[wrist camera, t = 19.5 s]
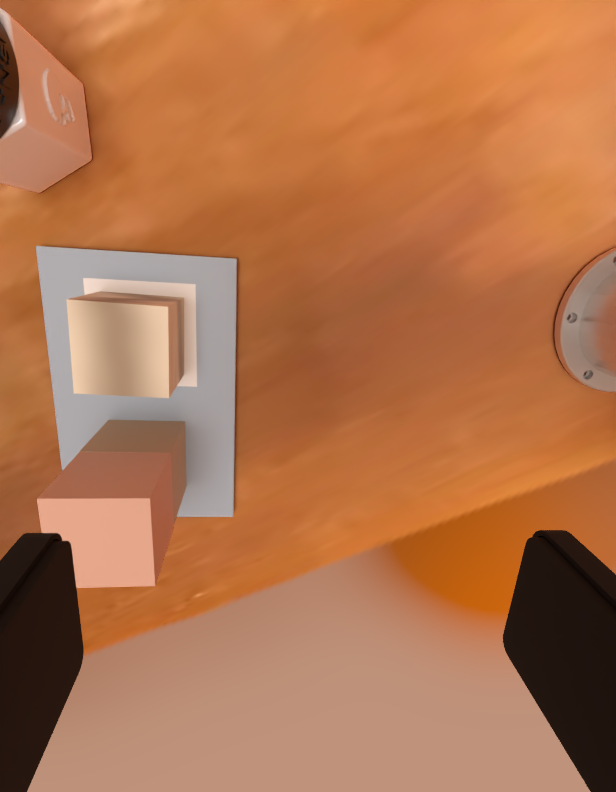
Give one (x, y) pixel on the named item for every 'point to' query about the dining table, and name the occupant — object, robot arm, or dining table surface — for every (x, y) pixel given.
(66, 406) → the board
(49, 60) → the jar
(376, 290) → the dining table surface
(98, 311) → the birch block
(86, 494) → the terracotta block
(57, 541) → the robot arm
